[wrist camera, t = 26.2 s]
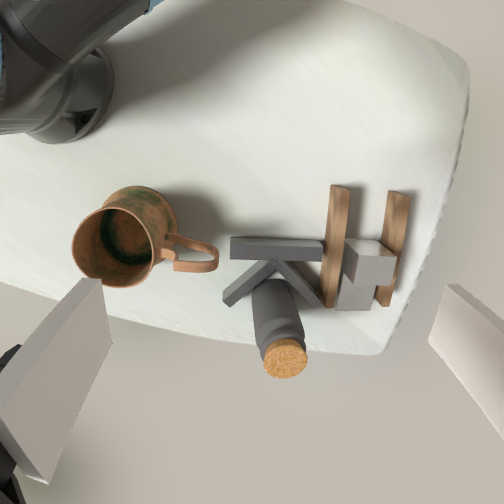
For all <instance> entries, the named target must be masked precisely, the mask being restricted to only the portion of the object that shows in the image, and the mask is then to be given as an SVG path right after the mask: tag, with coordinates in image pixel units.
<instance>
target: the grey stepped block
mask: <svg viewBox="0 0 504 504" xmlns="http://www.w3.org/2000/svg"><path fill="white" fill-rule="evenodd" d="M396 260H397V256H395V255H394V254H393V253H392V252H390V251H389V250H388V249H387V248H385V247H384V246H383V245H381V244H380V243H379V242H378V241H376V240H366V239H351V238H345V241H344V248H343V254H342V261H341V267H340V274H339V280H338V286H337V292H336V297H335V303H334V308H335V310H336V311H367V310H370V308H371V304H372V300H373V296H374V292H375V288H376V285H388V286H391V282H392V278H393V273H394V269H395V265H396Z"/></svg>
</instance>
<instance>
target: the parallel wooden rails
mask: <svg viewBox="0 0 504 504" xmlns="http://www.w3.org/2000/svg"><path fill="white" fill-rule="evenodd" d="M350 192H351V191H350V190H348V189H345V188H343V187H341V186H338V185H331V188H330V198H329V208H328V217H327V226H326V235H325V243H324V251H323V259H322V266H321V273H320V280H319V287H318V295H319V297H320V299H321V301H322V303H323V305H324V307H325V308H334V303H335V297H336V292H337V286H338V280H339V274H340V267H341V261H342V254H343V248H344V241H345V233H346V226H347V218H348V210H349V201H350ZM410 198H411V197H408V196H406V195H403V194H401V193H398V192H395V191H388V196H387V204H386V211H385V218H384V224H383V231H382V237H381V243H380V244H381V245H383V246H384V247H385V248H387V249H388V250H389V251H390V252H392V253H393V254H394V255H395V256H397V260H396V265H395V269H394V273H393V278H392V282H391V286H388V285H376V288H375V292H374V297H375V299H376V300H377V301H378V302H379V304H380V305H381V306H382V307H389V305H390V301H391V297H392V293H393V289H394V284H395V280H396V276H397V271H398V266H399V262H400V257H401V252H402V246H403V241H404V236H405V230H406V224H407V218H408V212H409V205H410Z"/></svg>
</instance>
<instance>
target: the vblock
mask: <svg viewBox="0 0 504 504" xmlns="http://www.w3.org/2000/svg"><path fill="white" fill-rule="evenodd" d="M323 248H324V247H323V246H322V245H321V243H320V242H319V241H318V240H300V239H272V238H241V237H231V241H230V259H241V260H259V261H258V262H257V263H255V264H254V265H253V266H252V267H251V268H250V269H248V270H247V271H246V272H245V273H244V274H243V275H241V276H240V277H239V278H238V279H237V280H236V281H234V282H233V283H232V284H231V285H230V286H229V287H227V288H226V289H225V290H224V291H223V302H224V303H225V304H226V305H227V306H229V307H231V306H232V305H234V304H235V303H236V302H237V301H238V300H240V299H241V298H242V297H243V296H245V295H246V294H247V293H248V292H249V291H251V290H252V289H253V288H254V287H255V286H257V285H258V284H259V283H260V282H261V281H263V280H264V279H265V278H266V277H267V276H268V275H270V274H271V273H272V272H273V271H274V270H276V269H277V270H278V271H279V273H280V274H281V275H282V276H283V277H284V278H285V279H286V280H287V281H288V282H289V283H290V284H291V285H292V286H293V287H294V288H295V289H296V290H297V291H298V292H299V293H300V294H301V295H302V296H303V297H304V298H305V300H306V301H307V302H308V303H309V304H310V305H311V306H312V307H313V308H315V307H316V306H318V305H319V304H320V303H321V300H320V298H319V296H318V294H317V292H316V291H315V290H314V289H313V288H312V287H311V286H310V285H309V284H308V282H307V281H306V280H305V279H304V278H303V277H302V276H301V275H300V274H299V273H298V272H297V271H296V270H295V268H294V267H293V266H292V265H291V264H290V263H289V262H288V261H318V262H322V256H323Z"/></svg>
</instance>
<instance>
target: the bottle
mask: <svg viewBox="0 0 504 504" xmlns="http://www.w3.org/2000/svg"><path fill="white" fill-rule="evenodd" d="M252 310H253V320H254V329H255V338H256V343H257V346H258V348H259V349H260V354H261V358H262V360H263V362H264V368H265V370H266V372H267V373H268V374H269V375H271V376H273V377H276V378H290V377H293V376H295V375H297V374H299V373H300V372H301V371H302V370H303V369H304V368H305V367H306V364H307V355H306V345H305V342H304V338H305V333H304V329H303V325H302V322H301V319H300V316H299V314H298V311H297V308H296V305H295V302H294V299H293V296H292V294H291V291H290V289H289V287H288V286H287V285H286V284H285V283H284V282H282V281H279V280H275V279H270V280H265V281H263V282H261V283H260V284H258V285H257V286H256V287H255V289H254V291H253V293H252Z"/></svg>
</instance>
